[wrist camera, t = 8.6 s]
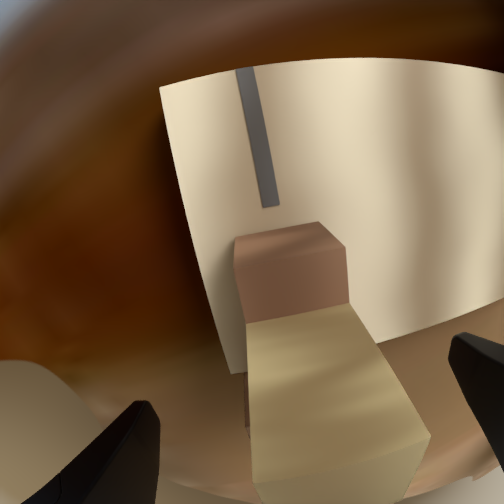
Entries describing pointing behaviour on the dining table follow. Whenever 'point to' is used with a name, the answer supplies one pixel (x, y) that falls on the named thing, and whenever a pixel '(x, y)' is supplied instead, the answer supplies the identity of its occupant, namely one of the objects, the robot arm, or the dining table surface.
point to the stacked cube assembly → (318, 379)
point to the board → (349, 181)
